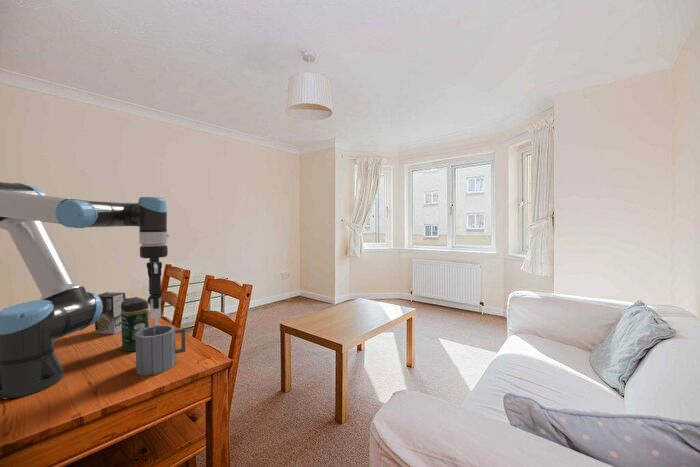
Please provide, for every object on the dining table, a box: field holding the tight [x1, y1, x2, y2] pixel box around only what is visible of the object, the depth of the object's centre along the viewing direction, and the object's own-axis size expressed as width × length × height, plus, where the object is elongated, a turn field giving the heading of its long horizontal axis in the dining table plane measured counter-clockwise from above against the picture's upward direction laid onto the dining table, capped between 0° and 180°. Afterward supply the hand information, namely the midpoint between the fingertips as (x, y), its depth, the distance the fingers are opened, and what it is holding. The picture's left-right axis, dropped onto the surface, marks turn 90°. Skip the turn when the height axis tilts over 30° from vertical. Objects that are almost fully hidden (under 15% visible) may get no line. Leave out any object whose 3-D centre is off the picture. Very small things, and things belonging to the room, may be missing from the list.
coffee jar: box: [121, 296, 150, 352], centre depth 112 cm, size 10×8×19 cm
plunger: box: [147, 294, 163, 336], centre depth 98 cm, size 8×8×17 cm
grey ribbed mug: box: [135, 324, 186, 376], centre depth 99 cm, size 14×11×12 cm
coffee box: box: [94, 291, 126, 335], centre depth 128 cm, size 9×6×16 cm
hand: (155, 315), depth 98 cm, fingers closed on plunger, 4 cm apart
